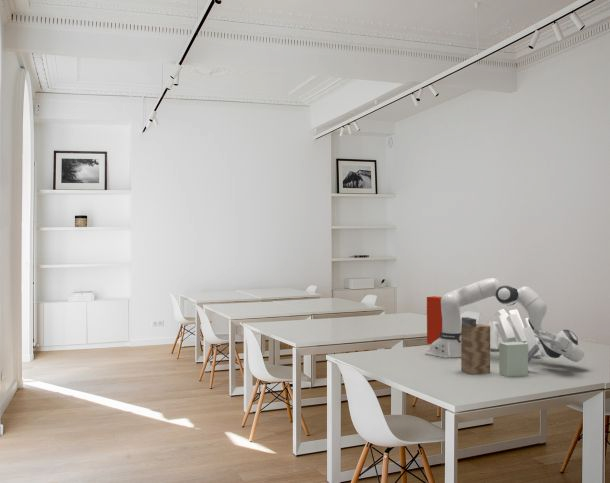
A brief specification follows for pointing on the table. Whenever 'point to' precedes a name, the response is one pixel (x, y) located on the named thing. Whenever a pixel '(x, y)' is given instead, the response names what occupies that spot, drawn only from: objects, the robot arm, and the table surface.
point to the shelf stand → (475, 347)
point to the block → (513, 359)
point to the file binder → (433, 318)
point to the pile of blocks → (512, 330)
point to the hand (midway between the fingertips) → (540, 331)
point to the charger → (533, 352)
